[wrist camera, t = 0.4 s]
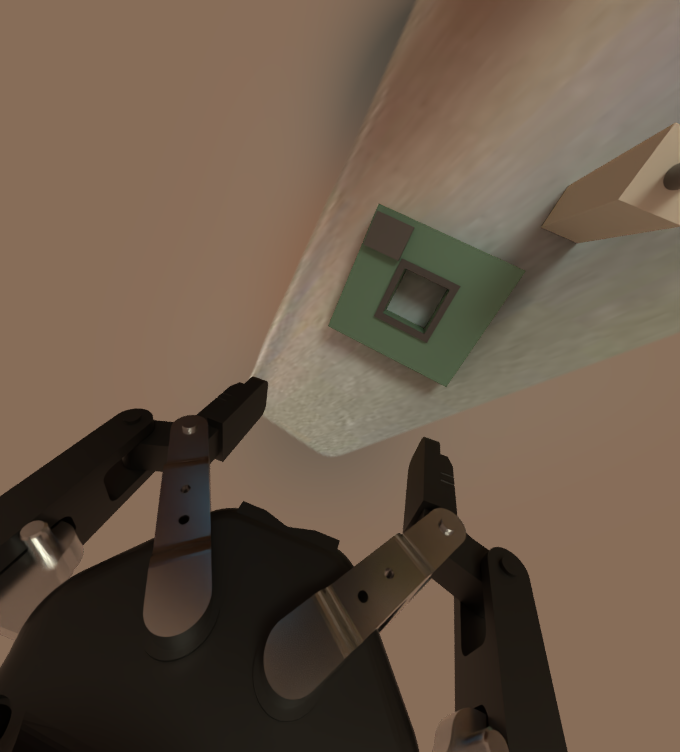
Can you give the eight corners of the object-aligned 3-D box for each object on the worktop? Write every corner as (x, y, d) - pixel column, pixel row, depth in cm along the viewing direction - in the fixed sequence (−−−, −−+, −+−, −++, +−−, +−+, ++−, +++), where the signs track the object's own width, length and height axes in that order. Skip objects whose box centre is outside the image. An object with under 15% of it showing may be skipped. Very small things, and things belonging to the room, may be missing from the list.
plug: (568, 185, 29) (723, 93, 13) (607, 202, 28) (812, 126, 13) (540, 227, 30) (651, 187, 15) (577, 243, 30) (727, 218, 15)
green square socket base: (382, 208, 34) (377, 202, 31) (517, 270, 32) (527, 271, 29) (334, 322, 40) (326, 327, 37) (445, 378, 39) (446, 389, 35)
